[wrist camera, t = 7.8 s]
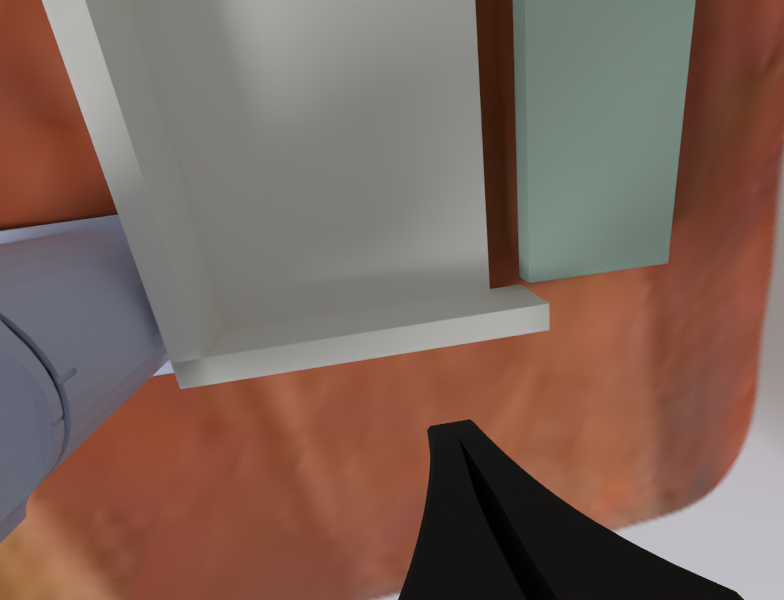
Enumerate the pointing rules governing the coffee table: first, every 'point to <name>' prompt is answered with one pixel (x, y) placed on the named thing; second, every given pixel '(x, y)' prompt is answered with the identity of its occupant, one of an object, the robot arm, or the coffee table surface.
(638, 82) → the panel
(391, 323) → the grey open tray
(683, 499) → the coffee table surface
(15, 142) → the coffee table surface
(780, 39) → the coffee table surface
